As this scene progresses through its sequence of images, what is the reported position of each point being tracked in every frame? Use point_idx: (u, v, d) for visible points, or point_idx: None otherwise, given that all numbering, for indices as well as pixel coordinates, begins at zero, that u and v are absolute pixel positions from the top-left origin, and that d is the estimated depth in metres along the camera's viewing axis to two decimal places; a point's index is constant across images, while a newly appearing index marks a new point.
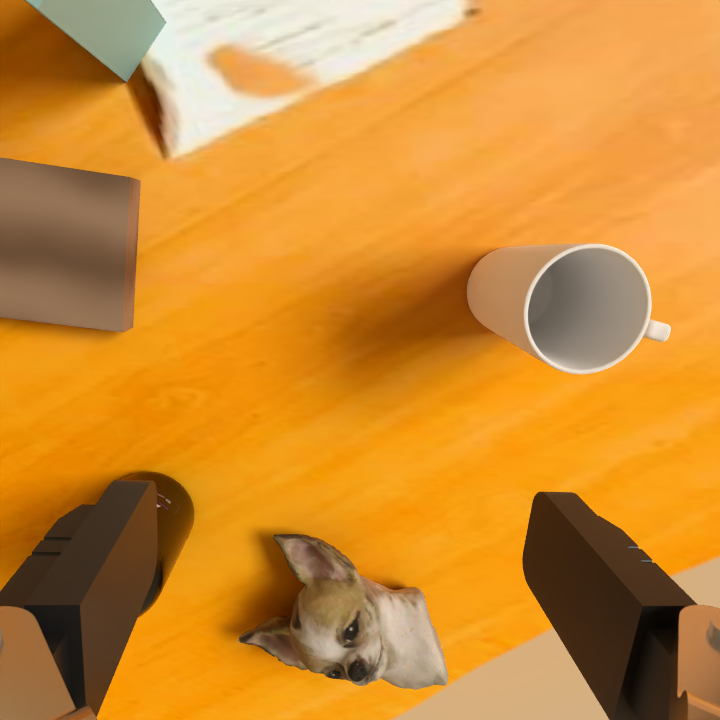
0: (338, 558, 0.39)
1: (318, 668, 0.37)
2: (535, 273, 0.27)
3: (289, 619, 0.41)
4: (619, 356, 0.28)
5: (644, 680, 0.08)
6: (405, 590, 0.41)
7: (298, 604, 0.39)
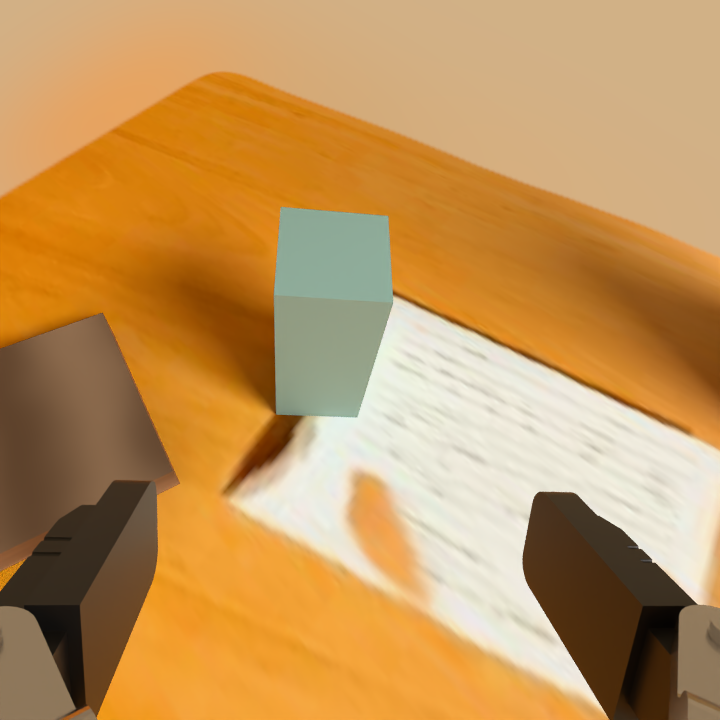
0: None
1: None
2: None
3: None
4: None
5: (644, 680, 0.08)
6: None
7: None
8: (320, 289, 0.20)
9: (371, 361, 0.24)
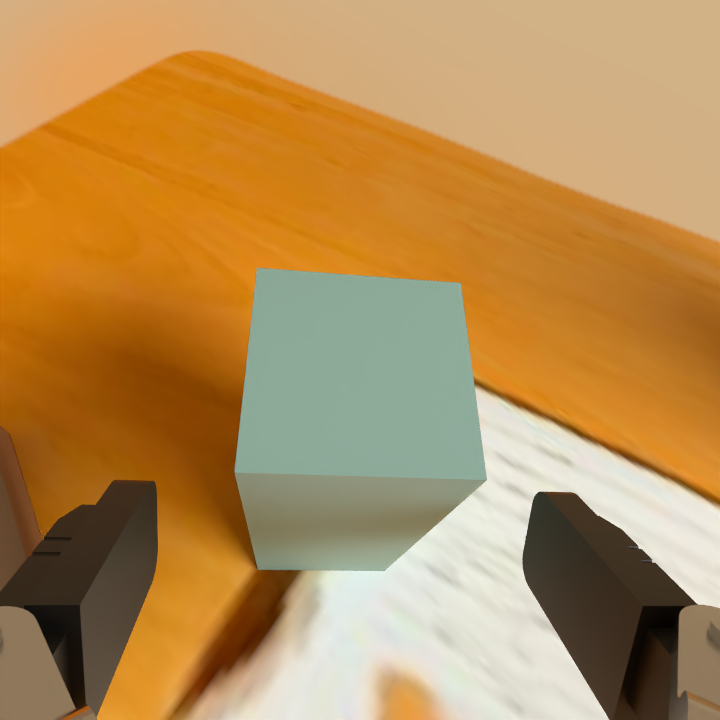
0: None
1: None
2: None
3: None
4: None
5: (644, 680, 0.08)
6: None
7: None
8: (334, 452, 0.09)
9: (421, 533, 0.14)
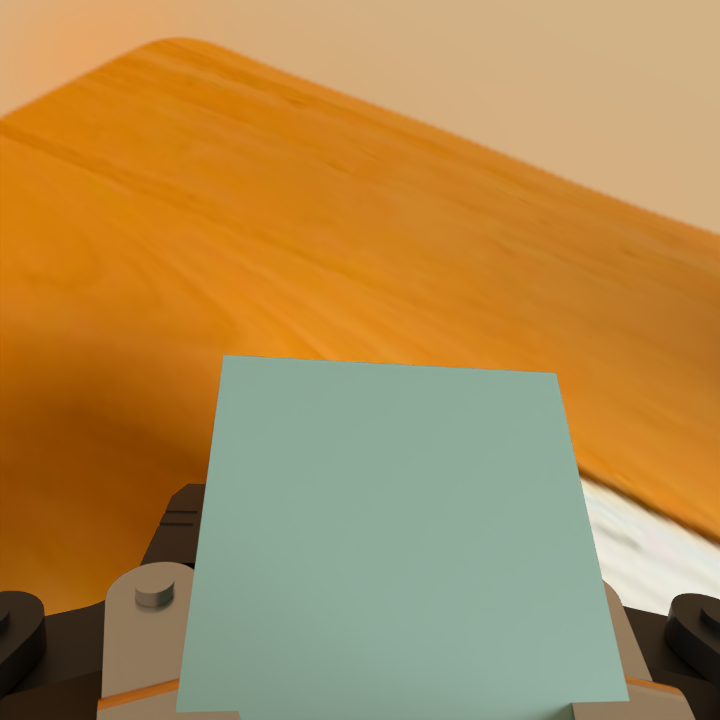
0: None
1: None
2: None
3: None
4: None
5: None
6: None
7: None
8: None
9: None
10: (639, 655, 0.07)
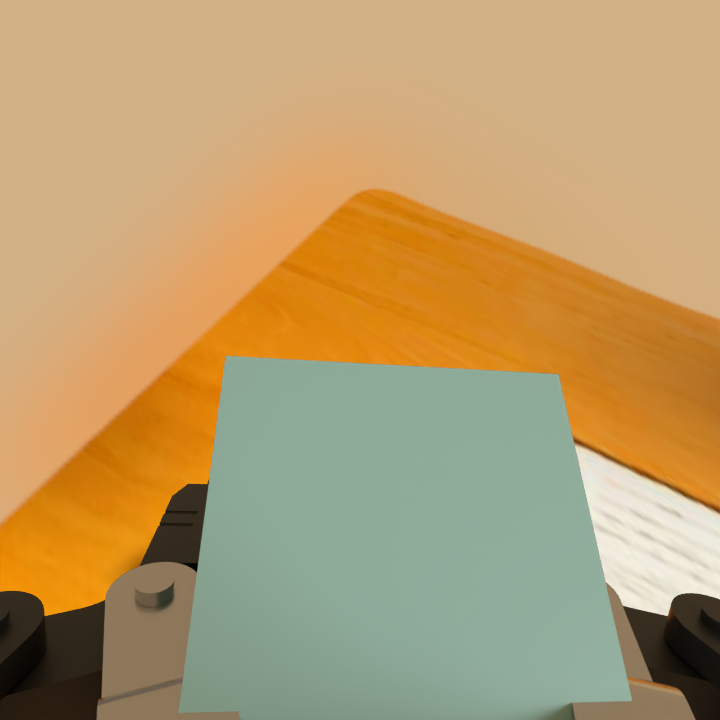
0: None
1: None
2: None
3: None
4: None
5: None
6: None
7: None
8: None
9: None
10: (639, 655, 0.07)
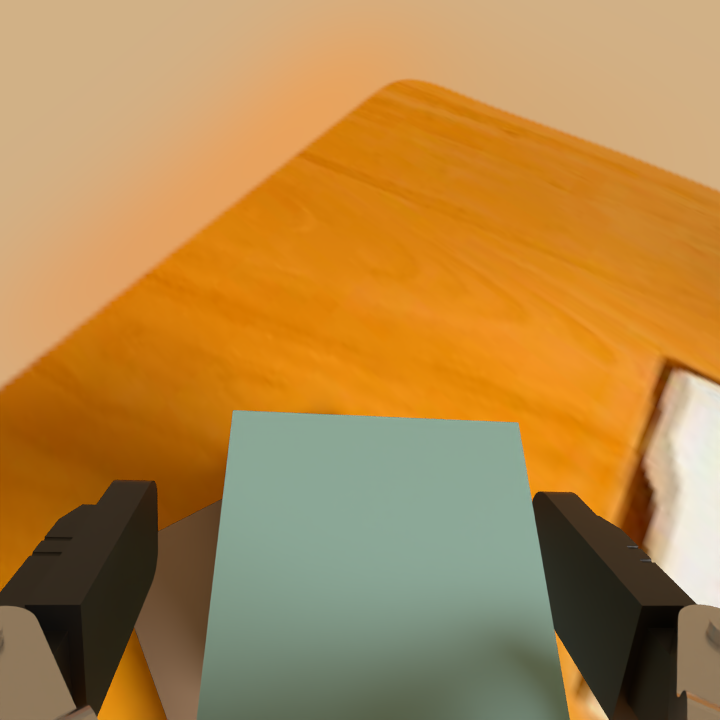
0: None
1: None
2: None
3: None
4: None
5: (644, 680, 0.08)
6: None
7: None
8: None
9: None
10: None
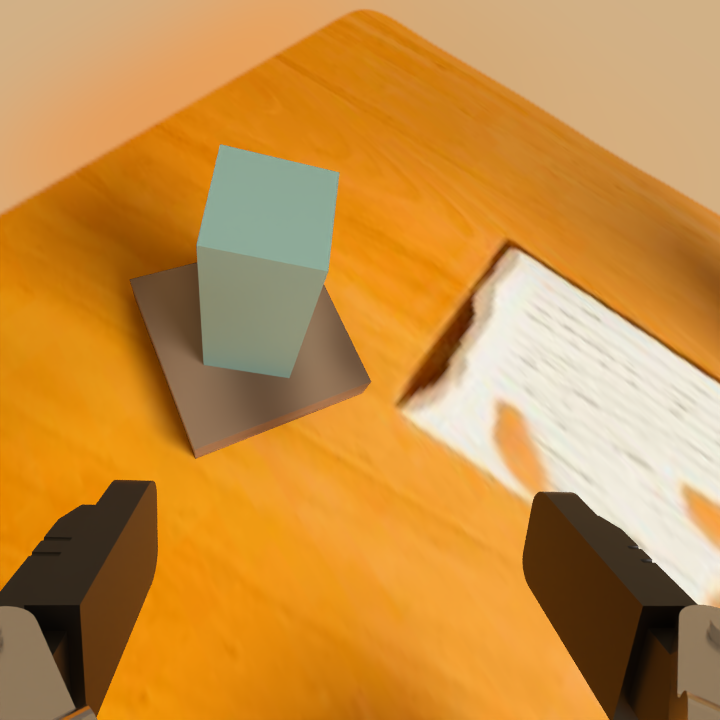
0: None
1: None
2: None
3: None
4: None
5: (644, 680, 0.08)
6: None
7: None
8: (250, 245, 0.18)
9: (304, 326, 0.23)
10: None
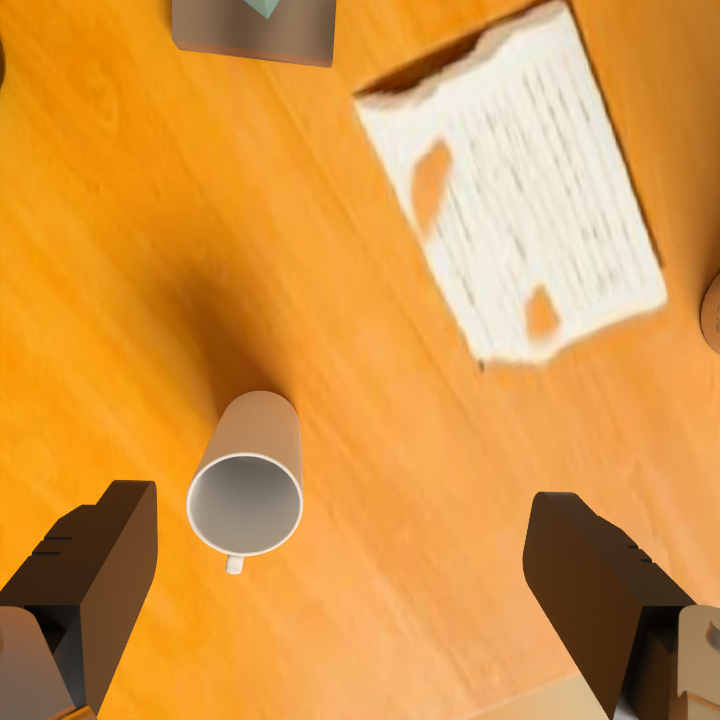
0: None
1: None
2: (273, 456, 0.30)
3: None
4: (207, 539, 0.31)
5: (644, 680, 0.08)
6: None
7: None
8: None
9: None
10: None
